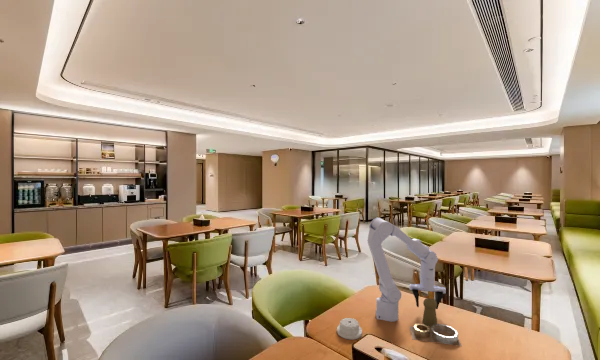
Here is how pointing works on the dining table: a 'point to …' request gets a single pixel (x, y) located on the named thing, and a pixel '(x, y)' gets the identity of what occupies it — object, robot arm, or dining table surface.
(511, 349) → the dining table surface
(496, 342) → the dining table surface
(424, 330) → the narrow bronze ring
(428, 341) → the smooth grayish brown board
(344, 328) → the mechanical component
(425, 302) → the olive bulbous peg
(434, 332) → the wide steel ring
